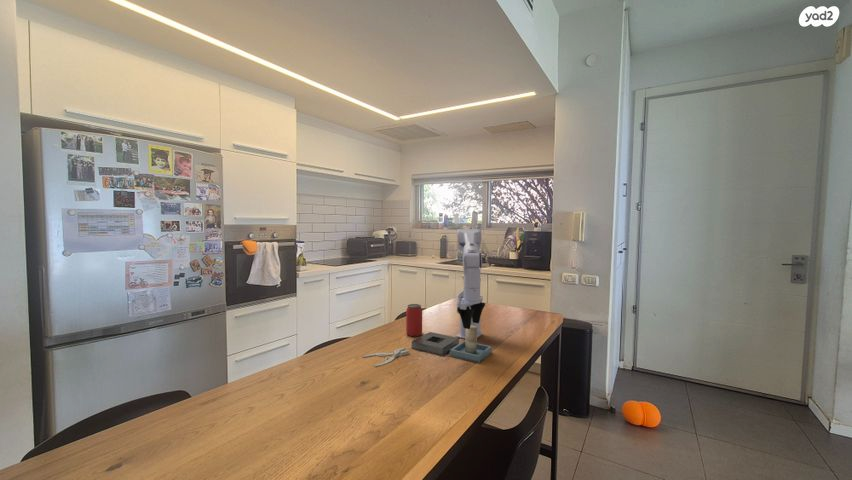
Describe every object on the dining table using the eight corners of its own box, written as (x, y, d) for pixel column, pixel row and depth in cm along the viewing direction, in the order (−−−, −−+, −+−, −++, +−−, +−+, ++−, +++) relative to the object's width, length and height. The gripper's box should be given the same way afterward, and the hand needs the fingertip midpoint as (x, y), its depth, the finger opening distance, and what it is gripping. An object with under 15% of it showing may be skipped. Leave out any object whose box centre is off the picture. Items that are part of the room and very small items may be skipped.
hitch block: (429, 338, 138) (430, 331, 138) (459, 344, 131) (459, 337, 131) (411, 347, 127) (411, 341, 127) (442, 355, 120) (442, 348, 120)
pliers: (362, 353, 118) (399, 344, 127) (362, 358, 118) (399, 349, 127) (375, 363, 110) (414, 353, 119) (375, 368, 110) (414, 357, 119)
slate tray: (463, 346, 129) (463, 340, 129) (491, 352, 123) (491, 346, 123) (449, 356, 120) (449, 349, 119) (479, 363, 114) (479, 356, 114)
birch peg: (468, 349, 124) (468, 324, 124) (478, 351, 122) (478, 326, 121) (463, 352, 121) (463, 327, 120) (473, 355, 119) (474, 329, 118)
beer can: (421, 336, 139) (422, 307, 139) (405, 336, 139) (405, 307, 139) (422, 331, 146) (422, 303, 145) (406, 331, 146) (406, 303, 145)
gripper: (470, 282, 128) (469, 318, 129) (452, 289, 116) (451, 328, 117) (488, 284, 125) (487, 321, 125) (471, 291, 112) (470, 332, 113)
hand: (471, 325), depth 121 cm, fingers open, 7 cm apart
